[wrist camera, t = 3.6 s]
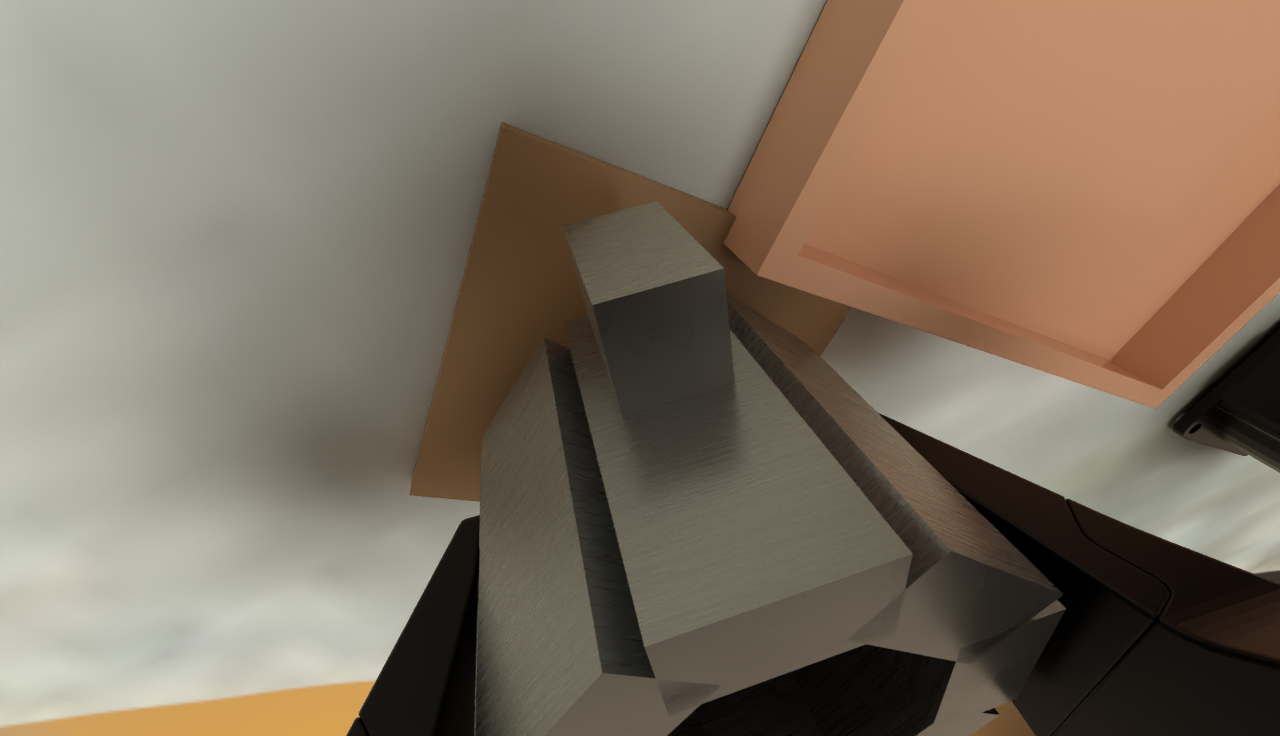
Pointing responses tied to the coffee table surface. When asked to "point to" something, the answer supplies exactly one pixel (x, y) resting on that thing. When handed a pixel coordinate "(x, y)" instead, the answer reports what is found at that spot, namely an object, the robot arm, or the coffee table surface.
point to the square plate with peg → (557, 290)
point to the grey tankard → (725, 531)
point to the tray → (1032, 178)
